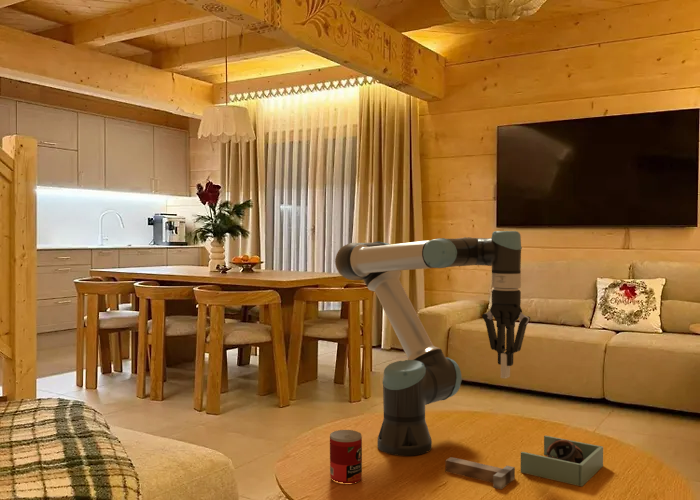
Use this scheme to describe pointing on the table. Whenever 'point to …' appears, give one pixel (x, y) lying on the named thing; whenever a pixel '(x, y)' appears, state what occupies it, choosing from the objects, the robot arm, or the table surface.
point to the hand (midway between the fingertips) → (505, 377)
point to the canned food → (346, 456)
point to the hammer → (481, 471)
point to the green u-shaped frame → (564, 463)
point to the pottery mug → (566, 451)
